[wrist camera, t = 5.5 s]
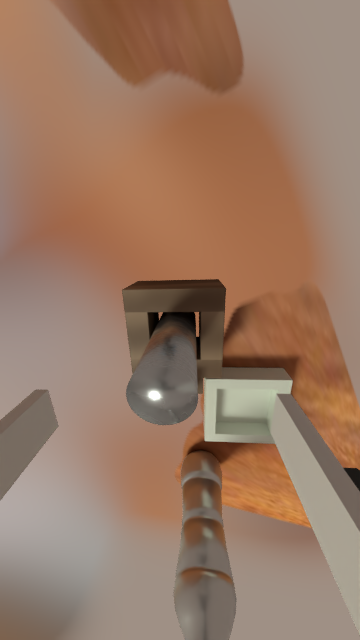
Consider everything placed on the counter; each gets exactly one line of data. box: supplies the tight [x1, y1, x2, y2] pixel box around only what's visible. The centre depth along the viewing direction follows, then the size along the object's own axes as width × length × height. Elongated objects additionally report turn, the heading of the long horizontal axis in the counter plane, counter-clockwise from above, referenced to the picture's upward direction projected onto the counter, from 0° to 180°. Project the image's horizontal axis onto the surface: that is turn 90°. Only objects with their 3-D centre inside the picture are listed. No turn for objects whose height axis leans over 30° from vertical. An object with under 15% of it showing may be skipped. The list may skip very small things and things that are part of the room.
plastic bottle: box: [174, 450, 236, 640], centre depth 25 cm, size 6×7×20 cm
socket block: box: [122, 279, 226, 394], centre depth 24 cm, size 13×10×6 cm
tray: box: [204, 367, 293, 444], centre depth 28 cm, size 11×11×3 cm
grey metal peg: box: [126, 312, 198, 425], centre depth 19 cm, size 4×4×15 cm
